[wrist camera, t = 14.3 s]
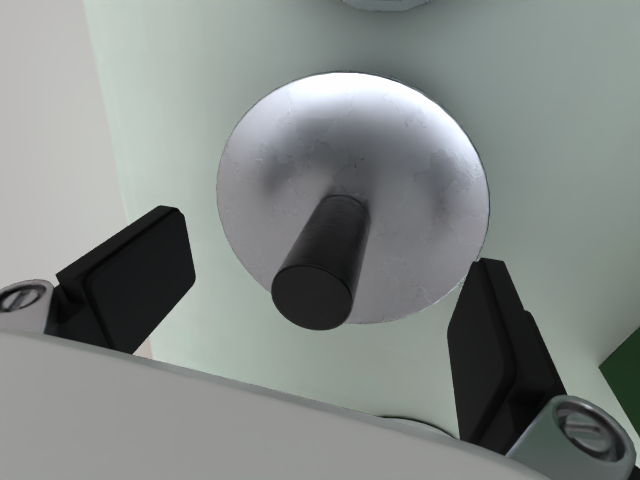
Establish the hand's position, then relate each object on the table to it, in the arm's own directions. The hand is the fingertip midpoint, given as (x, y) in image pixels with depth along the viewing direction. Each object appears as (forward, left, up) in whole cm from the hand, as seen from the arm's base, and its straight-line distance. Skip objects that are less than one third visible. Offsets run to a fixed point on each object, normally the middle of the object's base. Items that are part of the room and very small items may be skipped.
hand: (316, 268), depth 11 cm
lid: (0, 0, -5) cm, 5 cm away
